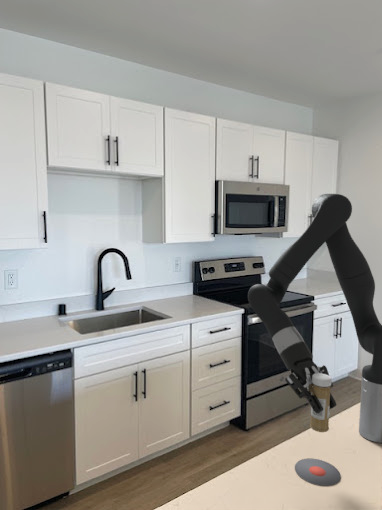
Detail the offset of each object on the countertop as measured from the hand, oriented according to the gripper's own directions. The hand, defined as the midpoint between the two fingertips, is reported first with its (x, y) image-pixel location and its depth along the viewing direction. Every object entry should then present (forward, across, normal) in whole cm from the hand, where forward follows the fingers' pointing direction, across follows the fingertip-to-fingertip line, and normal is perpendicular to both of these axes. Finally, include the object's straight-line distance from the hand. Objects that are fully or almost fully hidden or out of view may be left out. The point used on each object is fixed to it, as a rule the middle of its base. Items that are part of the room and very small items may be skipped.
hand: (326, 409), depth 95 cm
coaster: (+11, 0, +13) cm, 17 cm away
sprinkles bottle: (+3, 0, +6) cm, 6 cm away
